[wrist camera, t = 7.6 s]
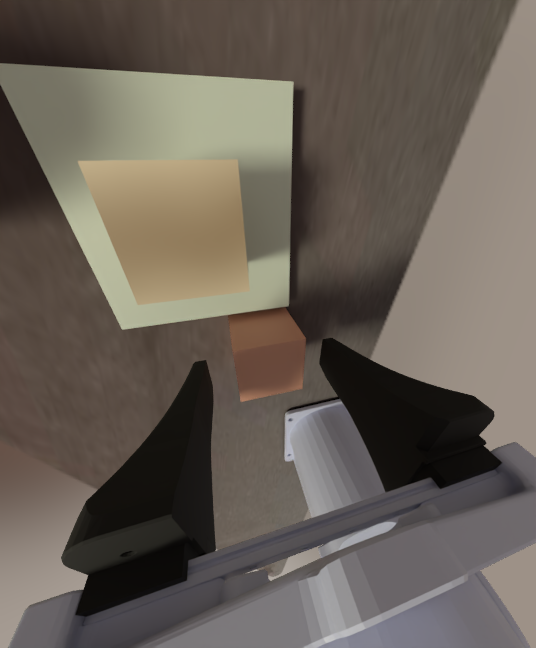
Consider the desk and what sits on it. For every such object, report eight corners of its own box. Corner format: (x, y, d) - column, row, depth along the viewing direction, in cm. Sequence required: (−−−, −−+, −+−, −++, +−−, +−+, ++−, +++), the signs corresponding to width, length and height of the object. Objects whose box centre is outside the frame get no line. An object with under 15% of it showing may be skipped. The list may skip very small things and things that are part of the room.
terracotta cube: (284, 350, 16) (302, 388, 13) (235, 359, 16) (240, 401, 12) (284, 306, 14) (306, 338, 11) (228, 314, 14) (232, 351, 10)
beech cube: (238, 264, 11) (249, 291, 8) (161, 272, 10) (137, 305, 7) (228, 175, 9) (237, 159, 6) (131, 177, 8) (77, 160, 5)
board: (285, 301, 14) (289, 306, 13) (127, 322, 12) (122, 330, 12) (287, 91, 9) (293, 81, 8) (10, 75, 7) (-13, 61, 6)
